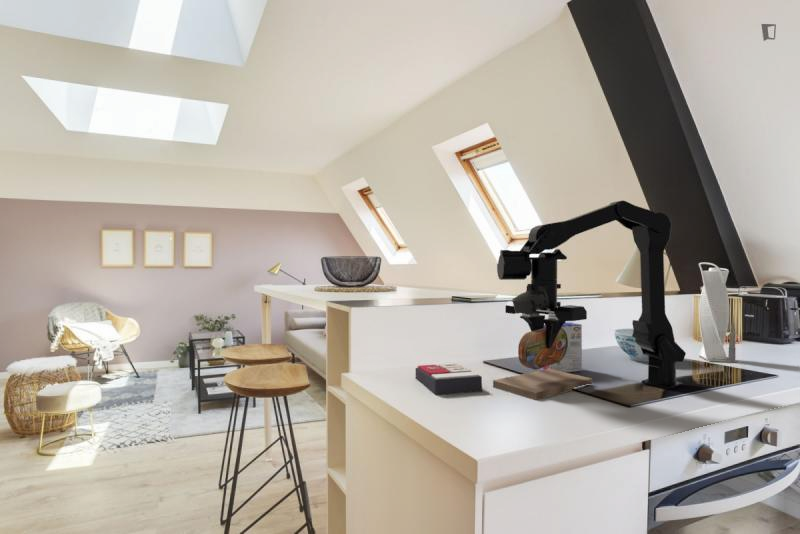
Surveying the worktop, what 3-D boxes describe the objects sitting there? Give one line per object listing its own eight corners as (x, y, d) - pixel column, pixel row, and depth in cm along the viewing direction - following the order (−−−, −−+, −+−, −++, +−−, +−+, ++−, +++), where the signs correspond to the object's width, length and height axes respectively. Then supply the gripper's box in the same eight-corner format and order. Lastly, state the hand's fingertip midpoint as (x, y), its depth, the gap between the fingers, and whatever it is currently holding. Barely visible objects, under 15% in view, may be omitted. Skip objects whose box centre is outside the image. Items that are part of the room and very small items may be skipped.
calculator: (456, 361, 122) (482, 373, 108) (457, 379, 122) (482, 392, 108) (414, 364, 120) (435, 376, 105) (415, 382, 119) (435, 396, 105)
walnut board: (548, 374, 123) (549, 368, 123) (591, 385, 113) (591, 378, 113) (493, 386, 111) (493, 380, 111) (535, 399, 102) (535, 392, 102)
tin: (526, 373, 107) (527, 336, 106) (514, 369, 110) (515, 333, 108) (568, 359, 116) (569, 325, 115) (557, 356, 118) (558, 322, 117)
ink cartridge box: (568, 366, 132) (569, 313, 131) (583, 371, 127) (583, 315, 126) (538, 369, 128) (538, 314, 128) (551, 374, 123) (552, 317, 123)
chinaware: (682, 365, 134) (683, 337, 133) (627, 365, 134) (628, 337, 134) (655, 353, 149) (655, 328, 148) (605, 353, 149) (605, 328, 149)
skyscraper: (704, 361, 138) (706, 262, 137) (692, 355, 146) (693, 262, 145) (737, 362, 137) (739, 262, 136) (723, 356, 145) (725, 262, 144)
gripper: (489, 279, 115) (489, 345, 115) (556, 283, 99) (555, 359, 100) (521, 277, 121) (520, 340, 122) (588, 281, 106) (587, 352, 106)
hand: (543, 347), depth 112 cm, fingers closed on tin, 2 cm apart
